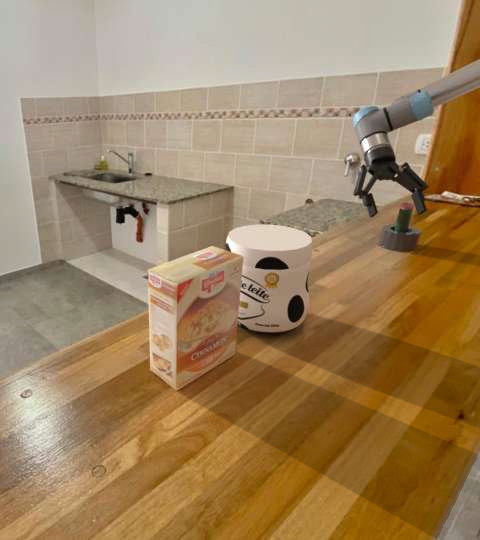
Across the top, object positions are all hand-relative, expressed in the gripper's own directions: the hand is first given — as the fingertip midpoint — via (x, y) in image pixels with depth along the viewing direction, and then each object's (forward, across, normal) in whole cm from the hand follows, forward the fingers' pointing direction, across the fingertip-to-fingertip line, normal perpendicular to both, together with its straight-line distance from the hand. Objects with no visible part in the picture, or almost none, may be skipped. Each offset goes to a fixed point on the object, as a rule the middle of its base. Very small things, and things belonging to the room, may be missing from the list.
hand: (398, 214), depth 109 cm
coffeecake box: (+43, +67, +30) cm, 85 cm away
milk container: (+33, +51, +21) cm, 64 cm away
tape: (+8, 0, -4) cm, 9 cm away
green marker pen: (+8, 0, -4) cm, 9 cm away
